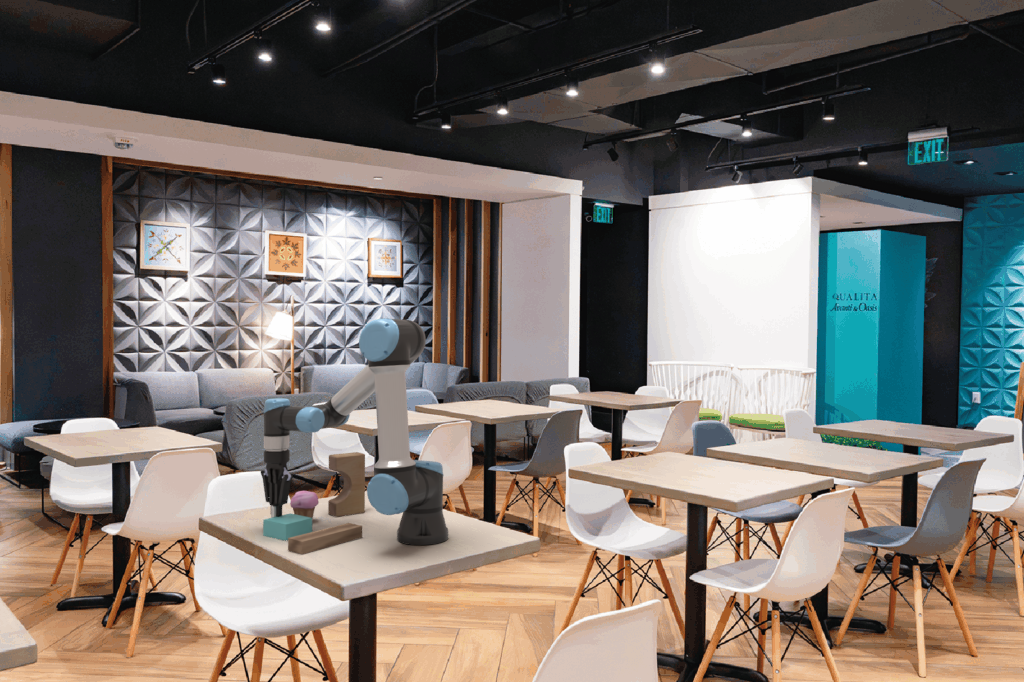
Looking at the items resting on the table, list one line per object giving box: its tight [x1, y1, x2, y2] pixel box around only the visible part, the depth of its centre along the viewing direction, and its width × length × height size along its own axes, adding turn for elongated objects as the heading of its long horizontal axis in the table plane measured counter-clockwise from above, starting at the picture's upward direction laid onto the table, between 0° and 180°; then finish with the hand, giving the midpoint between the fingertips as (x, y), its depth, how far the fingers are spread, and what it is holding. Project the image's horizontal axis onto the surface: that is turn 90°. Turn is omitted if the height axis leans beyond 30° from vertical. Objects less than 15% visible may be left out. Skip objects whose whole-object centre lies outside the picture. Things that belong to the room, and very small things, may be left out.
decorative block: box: [327, 451, 366, 518], centre depth 255 cm, size 11×6×20 cm, turn 128°
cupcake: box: [289, 490, 320, 520], centre depth 243 cm, size 9×9×10 cm
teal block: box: [262, 512, 313, 542], centre depth 227 cm, size 10×10×5 cm
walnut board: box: [287, 522, 363, 555], centre depth 217 cm, size 6×22×4 cm, turn 144°
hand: (276, 526), depth 231 cm, fingers closed
